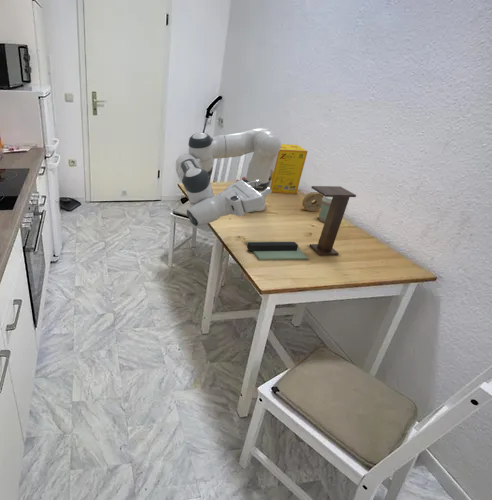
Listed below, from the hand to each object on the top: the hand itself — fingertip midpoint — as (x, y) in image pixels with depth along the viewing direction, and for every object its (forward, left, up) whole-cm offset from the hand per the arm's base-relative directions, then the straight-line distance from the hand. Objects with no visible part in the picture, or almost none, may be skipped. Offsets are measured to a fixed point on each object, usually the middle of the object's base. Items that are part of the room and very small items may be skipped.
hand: (264, 185), depth 133 cm
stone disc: (+21, +63, -27) cm, 72 cm away
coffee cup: (+28, +52, -27) cm, 65 cm away
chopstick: (-17, +82, -27) cm, 88 cm away
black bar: (+8, +4, -26) cm, 28 cm away
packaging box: (+2, +92, -27) cm, 96 cm away
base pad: (+9, +5, -27) cm, 29 cm away
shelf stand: (+25, +14, -27) cm, 39 cm away
